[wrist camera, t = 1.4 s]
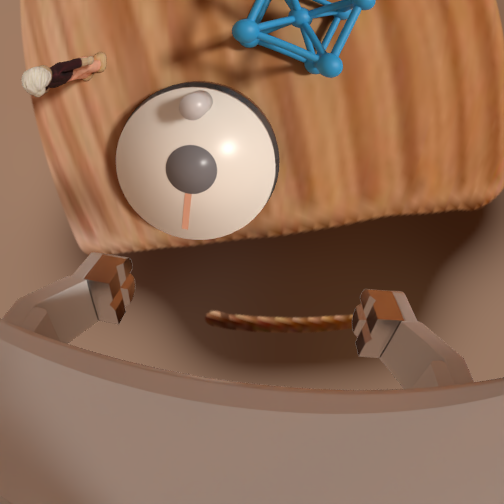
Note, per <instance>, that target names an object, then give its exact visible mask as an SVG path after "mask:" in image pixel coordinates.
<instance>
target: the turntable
mask: <svg viewBox="0 0 504 504" xmlns="http://www.w3.org/2000/svg"><path fill="white" fill-rule="evenodd" d="M275 166H276V164H275V155H274V149H273V145H272V141H271V138H270V136H269V133H268V131H267V129H266V127H265V126H264V124H263V122H262V121H261V120H260V118H259V117H258V116H257V115H256V113H255V112H254V111H253V110H252V109H250V108H249V107H248V106H247V105H246V104H245V103H243V102H242V101H240V100H239V99H238V98H236V97H234V96H232V95H230V94H228V93H225V92H222V91H220V90H217V89H212V88H207V87H183V88H179V89H174V90H171V91H168V92H165V93H163V94H160V95H158V96H156V97H154V98H152V99H151V100H149V101H147V102H146V103H145V104H144V105H142V106H141V107H140V108H139V109H138V110H137V111H136V112H135V113H134V114H133V115H132V116H131V118H130V119H129V120H128V122H127V123H126V125H125V127H124V129H123V131H122V133H121V136H120V138H119V141H118V146H117V150H116V171H117V176H118V180H119V184H120V187H121V189H122V191H123V193H124V196H125V197H126V199H127V201H128V202H129V204H130V205H131V206H132V208H133V209H134V210H135V211H136V212H137V213H138V214H139V215H140V216H141V217H142V218H143V219H144V220H145V221H146V222H148V223H149V224H150V225H152V226H154V227H155V228H157V229H159V230H161V231H163V232H165V233H167V234H170V235H173V236H176V237H180V238H185V239H193V240H205V239H214V238H218V237H222V236H225V235H228V234H231V233H233V232H235V231H237V230H239V229H241V228H242V227H244V226H245V225H247V224H248V223H249V222H250V221H251V220H253V219H254V218H255V217H256V216H257V214H258V213H259V212H260V211H261V210H262V208H263V207H264V205H265V204H266V202H267V200H268V198H269V196H270V194H271V191H272V188H273V185H274V179H275Z"/></svg>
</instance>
